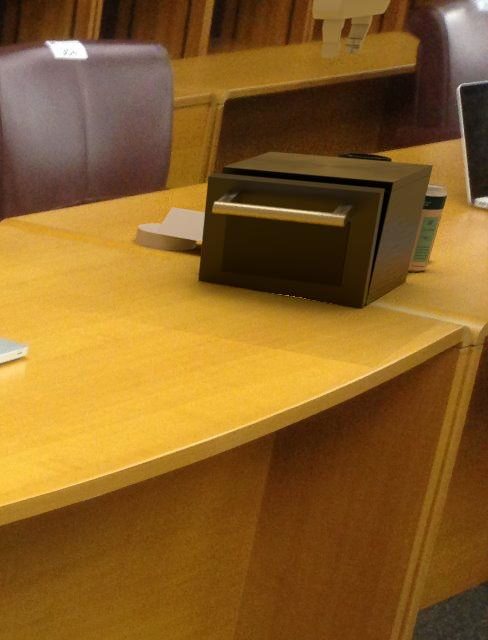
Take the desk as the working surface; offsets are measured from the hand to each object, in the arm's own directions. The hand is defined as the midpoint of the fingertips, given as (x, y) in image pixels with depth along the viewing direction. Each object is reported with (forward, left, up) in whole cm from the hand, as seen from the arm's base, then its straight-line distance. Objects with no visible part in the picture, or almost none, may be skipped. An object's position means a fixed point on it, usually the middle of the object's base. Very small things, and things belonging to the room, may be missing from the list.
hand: (340, 55), depth 196 cm
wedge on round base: (+24, -20, -31) cm, 44 cm away
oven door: (+2, +2, -31) cm, 31 cm away
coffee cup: (+4, -35, -31) cm, 47 cm away
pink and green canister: (-7, -30, -31) cm, 44 cm away
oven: (+2, -11, -31) cm, 33 cm away
